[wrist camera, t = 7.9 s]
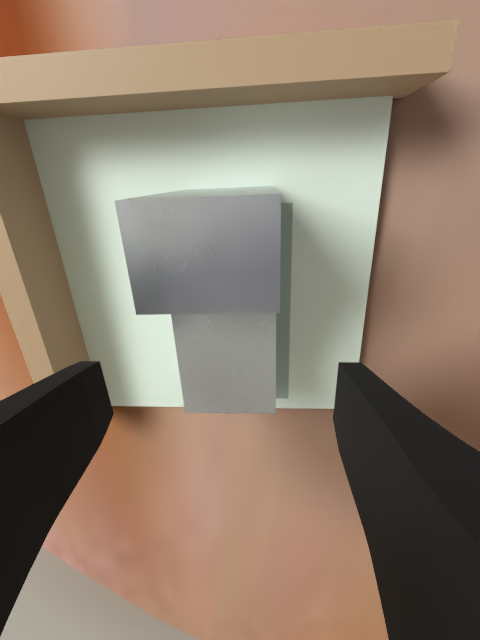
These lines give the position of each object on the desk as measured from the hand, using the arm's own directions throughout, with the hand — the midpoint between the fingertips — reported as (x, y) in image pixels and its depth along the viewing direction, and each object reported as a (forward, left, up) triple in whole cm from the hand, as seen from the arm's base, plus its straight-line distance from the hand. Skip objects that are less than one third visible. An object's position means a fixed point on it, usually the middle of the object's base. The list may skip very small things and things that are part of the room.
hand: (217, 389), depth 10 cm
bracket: (0, -1, -7) cm, 7 cm away
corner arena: (+1, -1, -8) cm, 8 cm away
